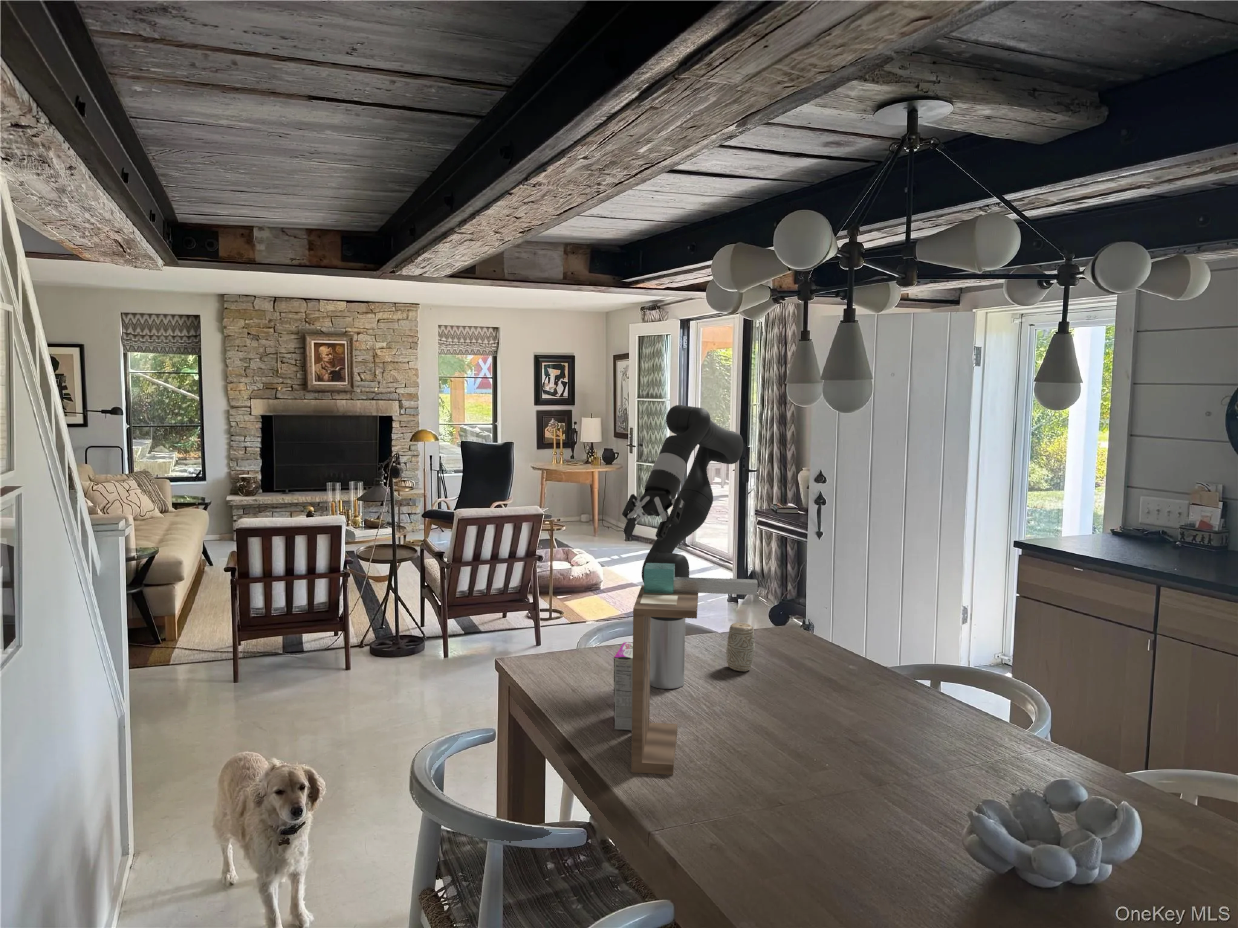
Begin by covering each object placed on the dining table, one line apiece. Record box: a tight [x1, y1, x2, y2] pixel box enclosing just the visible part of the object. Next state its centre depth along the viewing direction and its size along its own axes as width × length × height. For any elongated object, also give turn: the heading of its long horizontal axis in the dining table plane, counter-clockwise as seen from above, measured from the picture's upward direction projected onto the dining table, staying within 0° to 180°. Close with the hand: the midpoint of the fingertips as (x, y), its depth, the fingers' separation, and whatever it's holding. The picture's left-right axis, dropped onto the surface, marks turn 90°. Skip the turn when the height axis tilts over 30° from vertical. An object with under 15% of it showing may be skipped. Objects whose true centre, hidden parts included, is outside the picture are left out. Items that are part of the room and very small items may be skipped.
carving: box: [725, 621, 756, 673], centre depth 220 cm, size 6×8×12 cm
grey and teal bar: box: [643, 563, 759, 596], centre depth 171 cm, size 6×23×5 cm, turn 84°
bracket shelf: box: [630, 584, 699, 776], centre depth 167 cm, size 20×12×32 cm, turn 174°
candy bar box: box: [613, 641, 633, 732], centre depth 183 cm, size 11×5×16 cm, turn 168°
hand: (642, 536), depth 186 cm, fingers open, 8 cm apart
